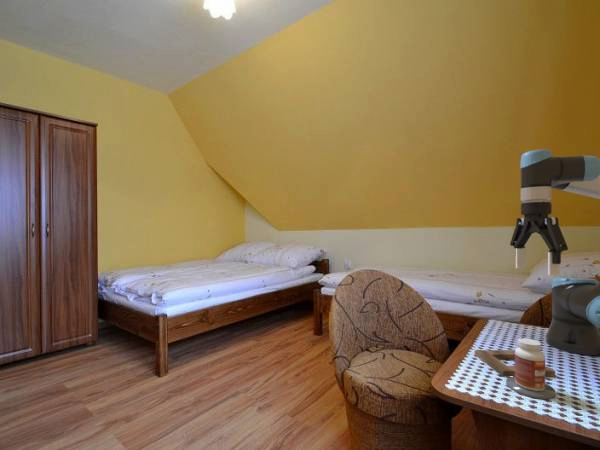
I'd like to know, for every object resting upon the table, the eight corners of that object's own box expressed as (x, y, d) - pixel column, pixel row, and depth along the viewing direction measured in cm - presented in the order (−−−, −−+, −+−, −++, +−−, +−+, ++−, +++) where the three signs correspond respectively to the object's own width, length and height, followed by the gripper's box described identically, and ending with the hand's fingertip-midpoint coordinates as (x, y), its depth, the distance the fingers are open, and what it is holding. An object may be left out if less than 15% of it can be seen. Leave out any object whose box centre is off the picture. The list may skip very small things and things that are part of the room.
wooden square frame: (519, 355, 98) (519, 350, 98) (555, 376, 84) (555, 371, 84) (474, 354, 98) (474, 350, 98) (502, 376, 84) (502, 371, 84)
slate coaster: (535, 378, 83) (535, 376, 83) (566, 399, 73) (566, 397, 73) (497, 378, 83) (497, 376, 83) (523, 399, 73) (523, 396, 73)
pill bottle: (539, 394, 74) (539, 348, 74) (510, 384, 79) (510, 340, 79) (549, 387, 78) (549, 342, 78) (520, 377, 83) (520, 335, 83)
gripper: (585, 198, 82) (585, 278, 83) (520, 204, 107) (520, 266, 107) (556, 198, 83) (556, 278, 83) (498, 204, 108) (498, 266, 108)
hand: (536, 271), depth 95 cm, fingers open, 13 cm apart
